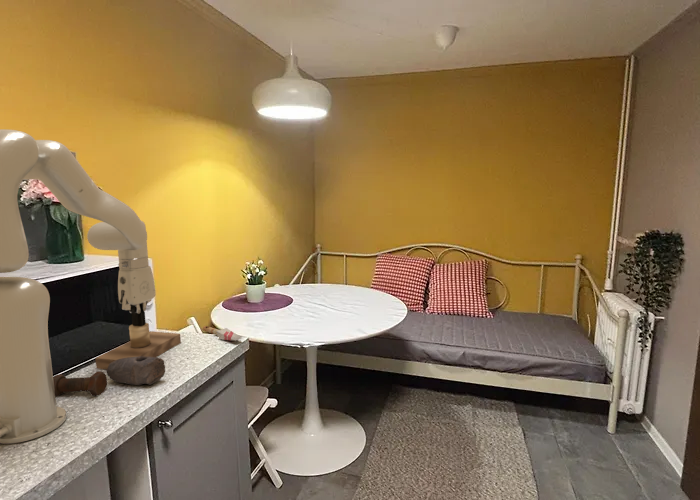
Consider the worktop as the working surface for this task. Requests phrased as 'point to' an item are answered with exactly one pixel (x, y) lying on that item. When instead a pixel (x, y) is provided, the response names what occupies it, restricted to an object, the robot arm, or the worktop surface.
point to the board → (140, 349)
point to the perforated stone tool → (136, 370)
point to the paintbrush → (222, 333)
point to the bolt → (81, 384)
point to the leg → (139, 336)
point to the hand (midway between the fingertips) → (139, 325)
